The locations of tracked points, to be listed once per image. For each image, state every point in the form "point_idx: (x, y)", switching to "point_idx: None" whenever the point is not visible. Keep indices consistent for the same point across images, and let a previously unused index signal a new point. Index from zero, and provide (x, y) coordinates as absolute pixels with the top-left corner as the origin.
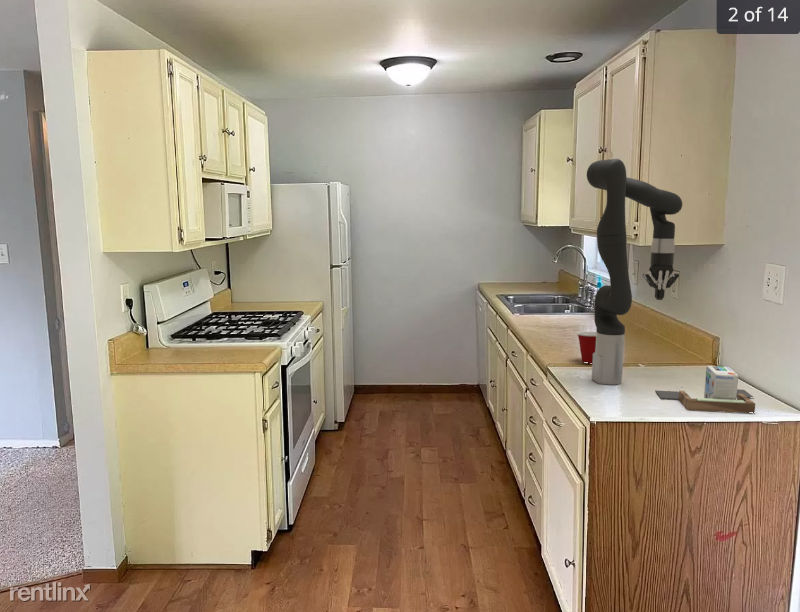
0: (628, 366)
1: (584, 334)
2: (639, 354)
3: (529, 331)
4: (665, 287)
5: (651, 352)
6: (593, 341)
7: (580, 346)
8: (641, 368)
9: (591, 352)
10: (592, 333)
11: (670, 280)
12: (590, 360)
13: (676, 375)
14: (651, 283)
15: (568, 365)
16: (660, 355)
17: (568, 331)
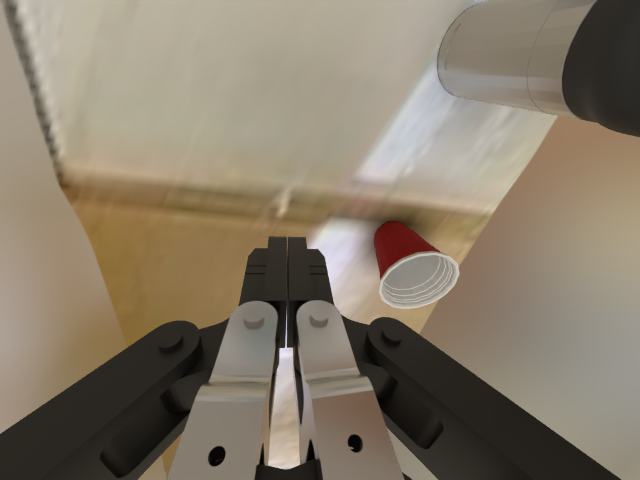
0: (321, 195)
1: (410, 299)
2: (238, 285)
3: None
4: (232, 322)
5: (202, 297)
6: (427, 246)
7: (429, 259)
8: (299, 173)
9: (413, 233)
10: (392, 300)
11: (91, 463)
12: (404, 225)
13: (234, 81)
14: (462, 369)
15: (450, 219)
16: (190, 275)
17: (295, 410)
